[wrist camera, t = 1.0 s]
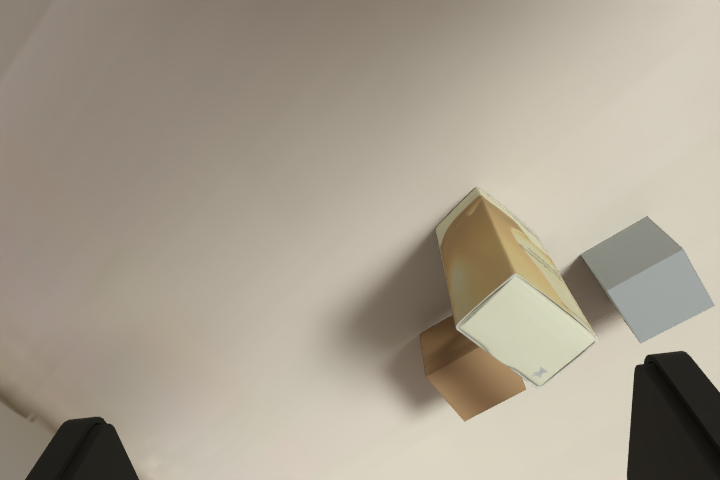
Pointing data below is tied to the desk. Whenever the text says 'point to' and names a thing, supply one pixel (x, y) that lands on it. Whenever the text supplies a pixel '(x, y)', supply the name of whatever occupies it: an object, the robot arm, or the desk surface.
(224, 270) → the desk surface
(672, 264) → the slate grey block
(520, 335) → the skincare box
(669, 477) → the robot arm
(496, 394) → the walnut block
